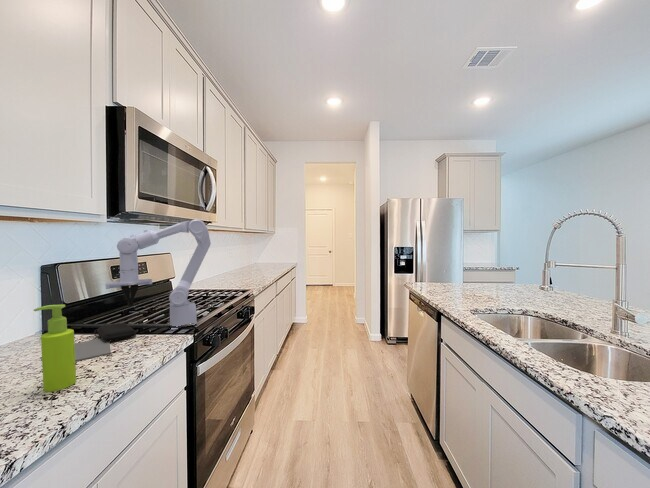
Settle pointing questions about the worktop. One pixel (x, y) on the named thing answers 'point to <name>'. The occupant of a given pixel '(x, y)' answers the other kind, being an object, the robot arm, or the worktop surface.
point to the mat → (91, 349)
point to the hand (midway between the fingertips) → (130, 305)
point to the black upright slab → (115, 332)
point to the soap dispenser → (57, 352)
